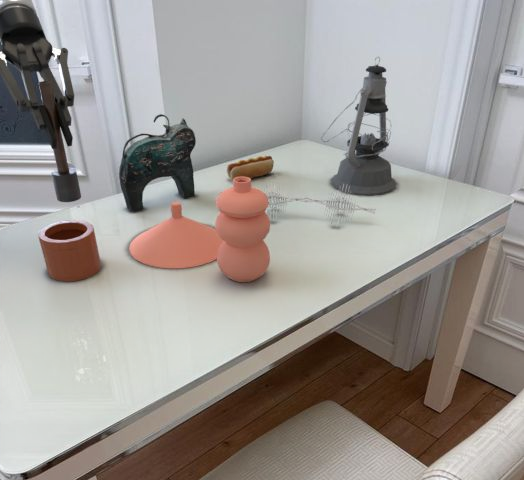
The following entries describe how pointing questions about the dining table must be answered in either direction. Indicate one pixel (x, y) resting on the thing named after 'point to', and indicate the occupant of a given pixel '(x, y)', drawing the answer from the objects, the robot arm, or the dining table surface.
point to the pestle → (59, 152)
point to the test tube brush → (315, 201)
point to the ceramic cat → (157, 163)
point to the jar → (70, 250)
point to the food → (250, 167)
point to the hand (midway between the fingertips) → (62, 142)
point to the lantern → (367, 143)
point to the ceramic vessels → (213, 236)
